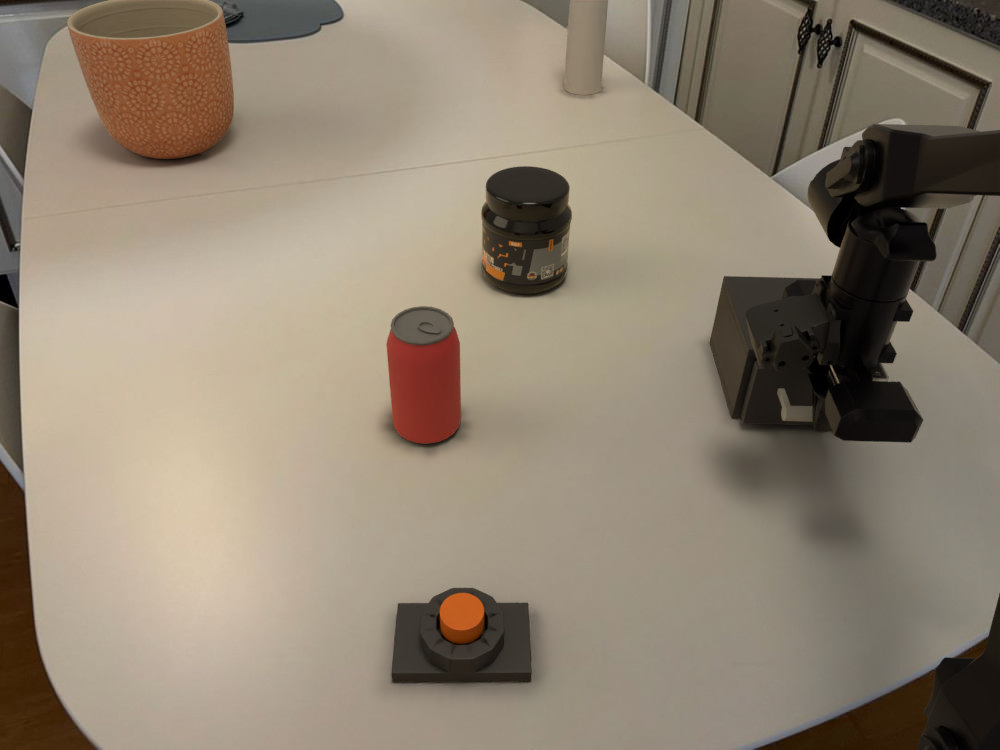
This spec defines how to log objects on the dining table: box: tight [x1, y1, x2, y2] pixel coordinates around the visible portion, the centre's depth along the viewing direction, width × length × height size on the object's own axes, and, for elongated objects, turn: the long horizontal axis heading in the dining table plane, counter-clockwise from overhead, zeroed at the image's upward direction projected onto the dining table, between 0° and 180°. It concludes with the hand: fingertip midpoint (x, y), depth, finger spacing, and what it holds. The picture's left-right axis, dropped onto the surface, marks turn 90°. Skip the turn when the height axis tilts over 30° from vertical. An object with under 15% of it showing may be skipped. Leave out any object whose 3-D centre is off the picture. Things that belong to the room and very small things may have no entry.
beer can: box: [386, 305, 462, 445], centre depth 79 cm, size 7×7×12 cm
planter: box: [66, 0, 235, 160], centre depth 126 cm, size 21×21×19 cm
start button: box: [440, 593, 484, 644], centre depth 62 cm, size 3×3×2 cm
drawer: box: [740, 356, 813, 426], centre depth 83 cm, size 15×10×7 cm
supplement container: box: [480, 165, 573, 295], centre depth 100 cm, size 10×10×12 cm
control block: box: [391, 587, 533, 683], centre depth 63 cm, size 10×6×3 cm, turn 91°
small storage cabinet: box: [709, 275, 821, 420], centre depth 86 cm, size 13×12×9 cm
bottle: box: [563, 0, 609, 96], centre depth 144 cm, size 7×7×28 cm
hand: (819, 429), depth 76 cm, fingers closed
